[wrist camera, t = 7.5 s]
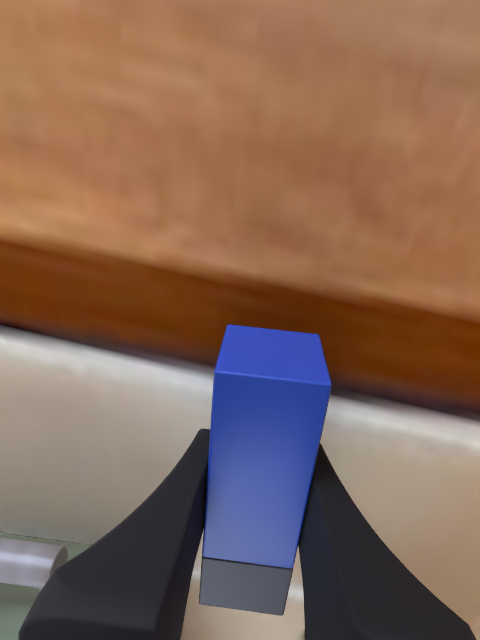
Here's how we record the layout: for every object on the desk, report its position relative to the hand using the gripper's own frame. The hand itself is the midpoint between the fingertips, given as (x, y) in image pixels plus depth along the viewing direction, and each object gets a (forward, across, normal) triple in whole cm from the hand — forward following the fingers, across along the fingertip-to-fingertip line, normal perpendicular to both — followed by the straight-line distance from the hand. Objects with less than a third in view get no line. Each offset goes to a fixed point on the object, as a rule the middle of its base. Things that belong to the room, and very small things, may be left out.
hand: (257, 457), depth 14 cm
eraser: (+1, 0, 0) cm, 1 cm away
